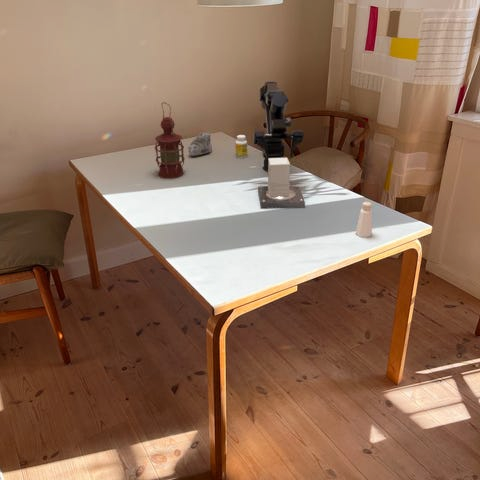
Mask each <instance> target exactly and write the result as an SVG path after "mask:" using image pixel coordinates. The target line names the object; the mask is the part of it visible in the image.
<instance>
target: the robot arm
mask: <svg viewBox="0 0 480 480" xmlns="http://www.w3.org/2000/svg"><path fill="white" fill-rule="evenodd" d="M258 97H259V100H258V101H259V102H260V106H261V108H262V109H263V110H264V113H265V121H266V124H265V125H266V132H267V133H266V132H265V130H255V131H254V132H253V144H254V145H256V146H258V147H259V148H261V150H262V157H263V158H264V159H263V167H262V169H263V170H264V171H266V172H268V158H284V156H285V149H286V146H285V144H284V142H283V140H291V143H290V158H293V155H294V151H295V148H296V146H299V145H300V144H301V143H303V140H304V131H303V130H300V129H298V130H292V132H291V133H287V128H288V127H289V128H290V127H291V126H292V118H291V117H285V112H286V107H287V104H288V102H289V98H288V96H287V94H286V93H285V92H284V91H283V90H280V88H279V87H278V82H276V81H265V82H264V85H263V86H262V87H261V88H260V89H259V94H258ZM265 133H266V134H265Z"/></svg>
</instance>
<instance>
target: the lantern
mask: <svg viewBox="0 0 480 480" xmlns="http://www.w3.org/2000/svg"><path fill="white" fill-rule="evenodd" d="M163 104H165V105H167V106H168V107H169V108H170V109H169V116H165V111H164V106H163ZM161 109H162V114H163V115H162V120H161V121H160V125H159V126H160V128H161V129H162V131H163V133H161V134H159V135H157V136H156V137H155V141H156V143H155V146H154V150H155V153H156V154H155V155H156V157H155V162H156V164H157V166H158V168H159V172H158V177H161V178H163V179H178V178H180V177H182V176H183V175H184V174H185V173H184V169H183V166H184V165H185V155H184V148H185V146H184V145H183V142H182V141H181V140H182V139H183V136H181V135H180V134H177V133H175V132H174V128H175V125H176V124H175V121H174V120H173V118H172V117H171V115H172V107H171V105H170V104H169V103H167V102H165V101H163V102H162V103H161ZM179 146H180V147H179ZM158 147H159V149H158ZM180 151H181V152H180ZM158 152H159V153H158ZM180 153H181V154H180ZM159 154H160V156H159ZM180 158H181V160H180ZM159 159H160V161H159Z"/></svg>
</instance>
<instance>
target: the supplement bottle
mask: <svg viewBox="0 0 480 480" xmlns="http://www.w3.org/2000/svg"><path fill="white" fill-rule="evenodd" d="M246 137H247V136H246V135H244V134H238V135H236V141H235V142H234V143H235V157H236V158H237V157H238V159H245V158H247V157H248V141H247V138H246Z"/></svg>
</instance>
